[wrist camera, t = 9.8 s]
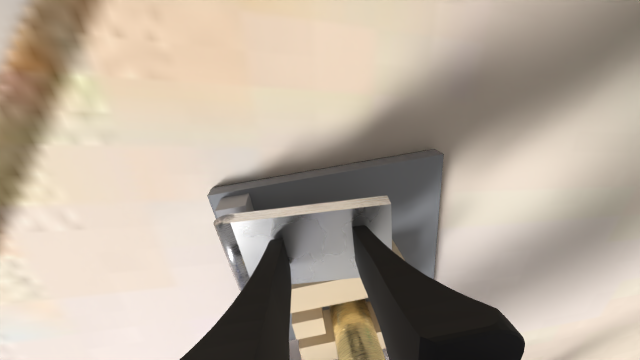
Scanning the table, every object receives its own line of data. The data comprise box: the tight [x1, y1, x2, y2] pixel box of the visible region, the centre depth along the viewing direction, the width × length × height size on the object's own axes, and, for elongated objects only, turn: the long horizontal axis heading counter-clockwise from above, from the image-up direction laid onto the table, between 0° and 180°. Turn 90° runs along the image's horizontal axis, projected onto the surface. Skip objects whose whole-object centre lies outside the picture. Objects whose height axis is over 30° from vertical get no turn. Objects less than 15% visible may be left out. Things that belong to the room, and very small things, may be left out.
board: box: [207, 149, 444, 360], centre depth 17 cm, size 14×14×4 cm
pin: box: [329, 299, 385, 360], centre depth 16 cm, size 3×3×6 cm
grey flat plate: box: [214, 195, 392, 291], centre depth 13 cm, size 4×8×1 cm, turn 98°
